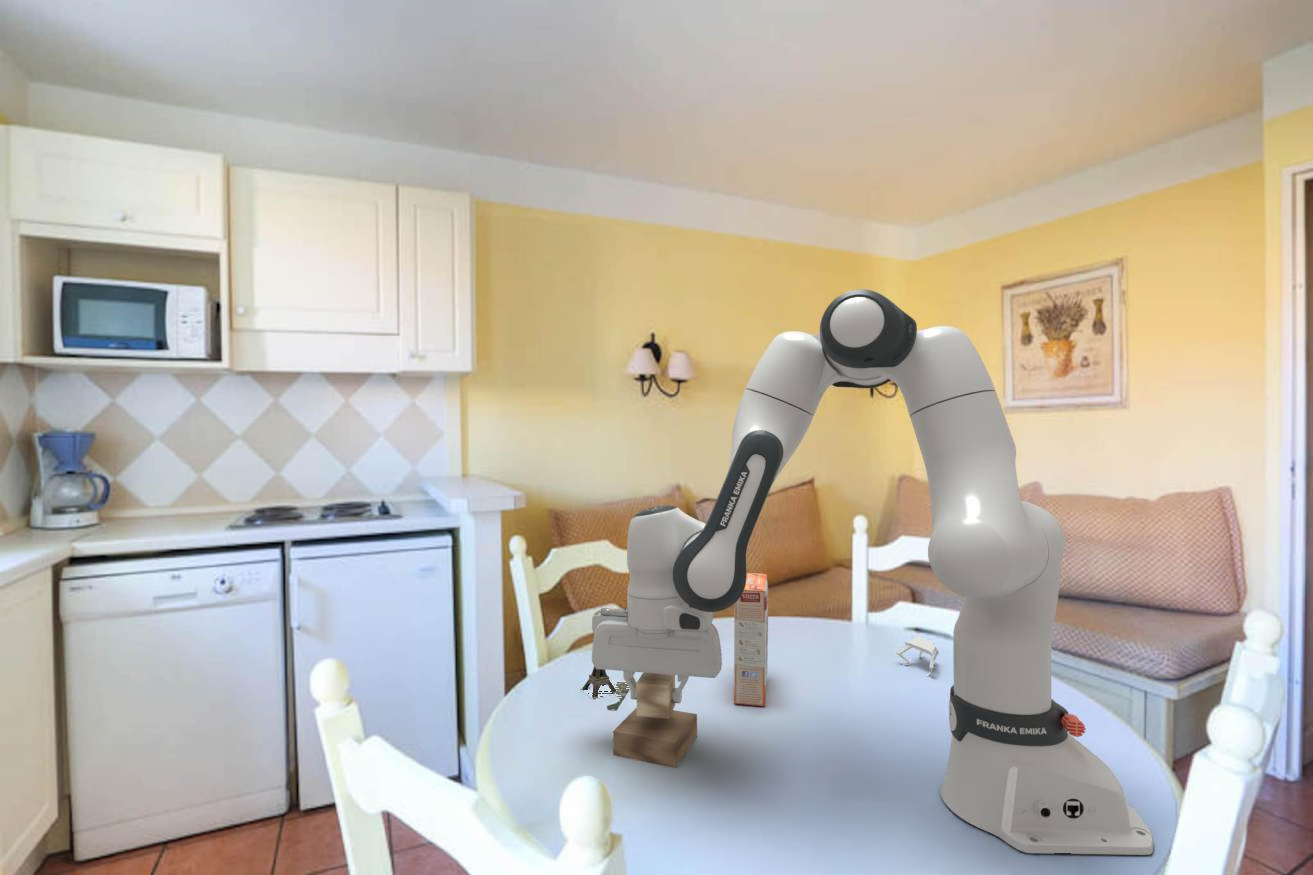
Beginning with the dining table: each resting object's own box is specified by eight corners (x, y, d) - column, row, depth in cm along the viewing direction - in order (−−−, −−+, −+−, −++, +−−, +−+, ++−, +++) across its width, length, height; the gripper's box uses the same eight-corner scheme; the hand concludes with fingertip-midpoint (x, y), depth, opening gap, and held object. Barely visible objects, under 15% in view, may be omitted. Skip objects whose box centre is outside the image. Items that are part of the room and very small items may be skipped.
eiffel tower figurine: (617, 714, 108) (616, 638, 108) (562, 710, 110) (561, 635, 110) (636, 681, 123) (636, 613, 123) (587, 677, 125) (587, 611, 125)
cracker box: (767, 708, 109) (766, 589, 109) (733, 705, 111) (732, 588, 111) (769, 677, 123) (768, 572, 123) (738, 675, 124) (738, 571, 124)
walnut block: (697, 739, 99) (696, 713, 99) (675, 770, 90) (675, 742, 90) (639, 728, 103) (639, 704, 103) (613, 757, 94) (613, 731, 94)
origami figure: (888, 659, 133) (888, 636, 133) (925, 657, 134) (925, 634, 134) (918, 680, 121) (918, 655, 121) (958, 678, 122) (958, 653, 122)
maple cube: (675, 704, 98) (675, 673, 98) (668, 718, 93) (668, 685, 93) (644, 701, 99) (644, 670, 99) (636, 715, 94) (636, 682, 94)
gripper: (585, 612, 96) (586, 702, 96) (717, 620, 91) (718, 714, 91) (598, 602, 102) (598, 686, 102) (722, 608, 97) (723, 697, 97)
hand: (656, 699), depth 96 cm, fingers closed on maple cube, 5 cm apart
